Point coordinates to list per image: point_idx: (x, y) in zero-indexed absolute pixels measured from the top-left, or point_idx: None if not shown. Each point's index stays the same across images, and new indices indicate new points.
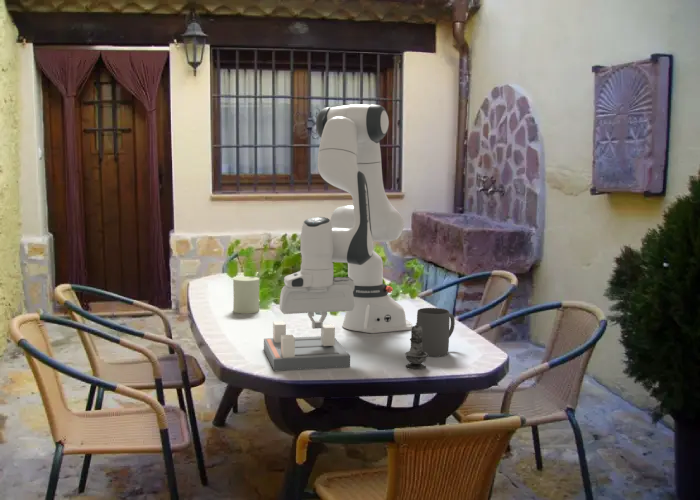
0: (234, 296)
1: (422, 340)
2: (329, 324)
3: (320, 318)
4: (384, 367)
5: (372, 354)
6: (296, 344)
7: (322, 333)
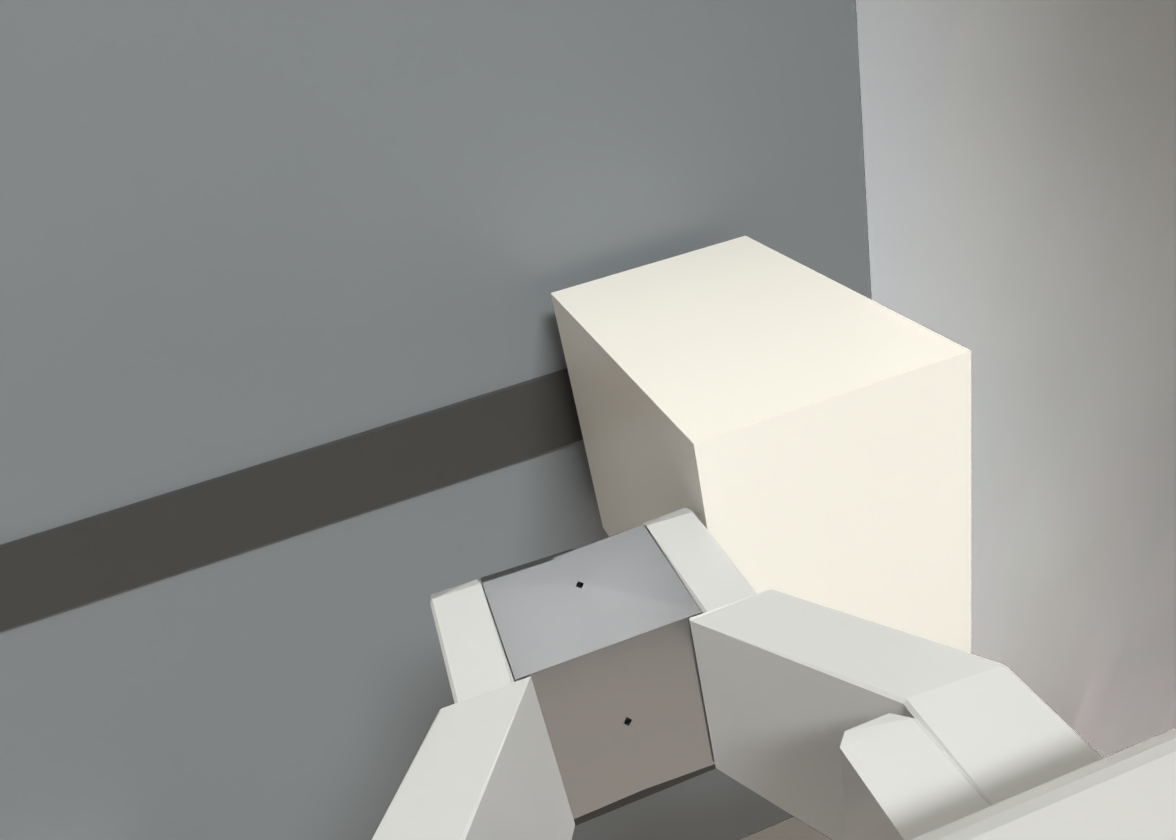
0: None
1: None
2: (910, 373)
3: (764, 673)
4: (1113, 621)
5: (1165, 140)
6: (24, 358)
7: (650, 517)
